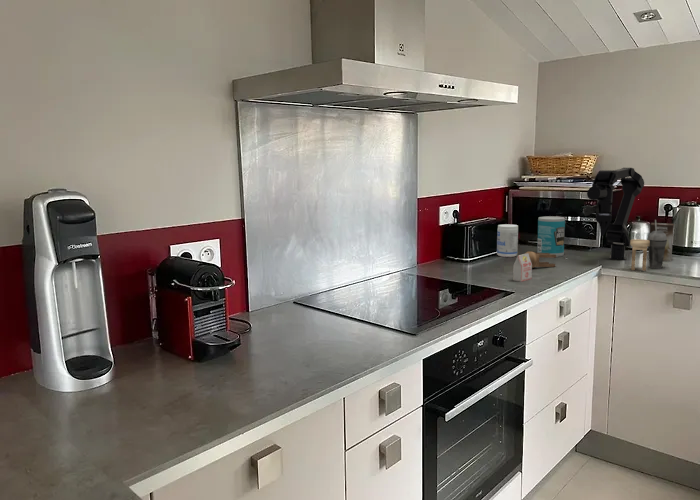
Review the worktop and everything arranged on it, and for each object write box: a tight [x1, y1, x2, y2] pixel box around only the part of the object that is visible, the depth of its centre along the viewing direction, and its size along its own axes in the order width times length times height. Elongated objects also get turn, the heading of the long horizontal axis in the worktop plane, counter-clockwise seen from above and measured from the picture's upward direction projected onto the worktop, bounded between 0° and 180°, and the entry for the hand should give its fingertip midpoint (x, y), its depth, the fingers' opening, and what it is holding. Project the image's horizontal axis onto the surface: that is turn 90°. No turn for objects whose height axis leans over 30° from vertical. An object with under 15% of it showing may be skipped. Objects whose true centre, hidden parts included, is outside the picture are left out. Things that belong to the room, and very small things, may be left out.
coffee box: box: [647, 222, 675, 262], centre depth 249 cm, size 9×6×16 cm
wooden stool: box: [524, 251, 557, 269], centre depth 240 cm, size 7×7×12 cm
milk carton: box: [512, 252, 533, 283], centre depth 217 cm, size 4×7×10 cm, turn 128°
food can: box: [536, 215, 566, 258], centre depth 266 cm, size 12×12×18 cm
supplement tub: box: [496, 223, 519, 258], centre depth 269 cm, size 10×10×15 cm
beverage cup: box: [646, 219, 667, 270], centre depth 231 cm, size 7×7×20 cm
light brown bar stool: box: [629, 238, 650, 272], centre depth 230 cm, size 7×7×12 cm
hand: (602, 235), depth 244 cm, fingers closed
